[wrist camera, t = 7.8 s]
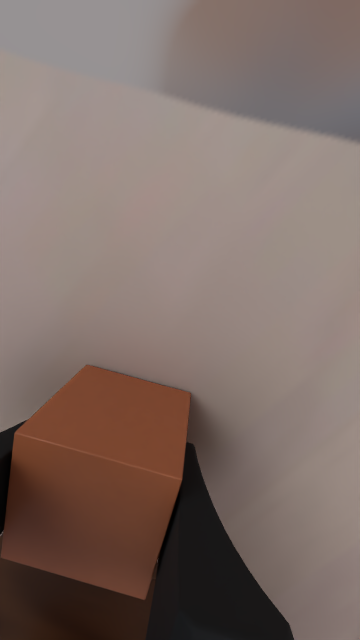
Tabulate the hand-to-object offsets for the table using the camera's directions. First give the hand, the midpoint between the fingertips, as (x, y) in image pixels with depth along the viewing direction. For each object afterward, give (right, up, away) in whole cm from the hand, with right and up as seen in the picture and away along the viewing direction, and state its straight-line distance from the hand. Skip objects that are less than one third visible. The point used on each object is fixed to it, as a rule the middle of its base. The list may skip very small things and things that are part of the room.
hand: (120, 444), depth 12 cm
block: (0, 0, +1) cm, 1 cm away
